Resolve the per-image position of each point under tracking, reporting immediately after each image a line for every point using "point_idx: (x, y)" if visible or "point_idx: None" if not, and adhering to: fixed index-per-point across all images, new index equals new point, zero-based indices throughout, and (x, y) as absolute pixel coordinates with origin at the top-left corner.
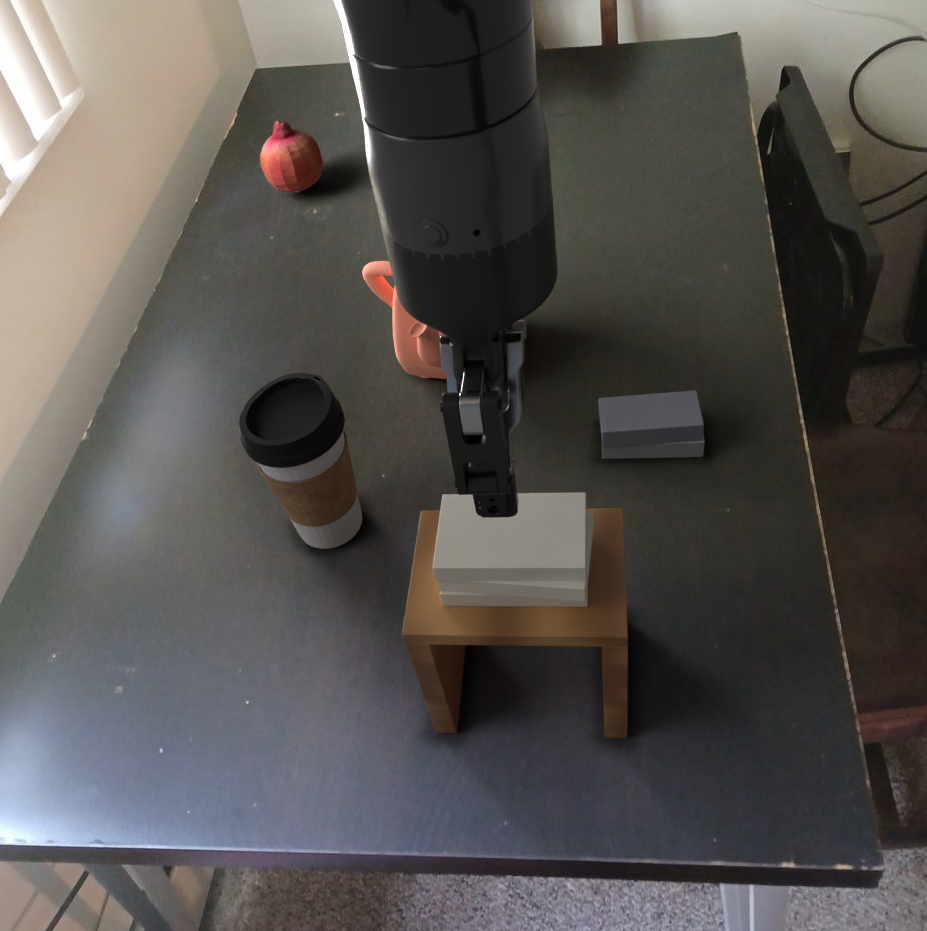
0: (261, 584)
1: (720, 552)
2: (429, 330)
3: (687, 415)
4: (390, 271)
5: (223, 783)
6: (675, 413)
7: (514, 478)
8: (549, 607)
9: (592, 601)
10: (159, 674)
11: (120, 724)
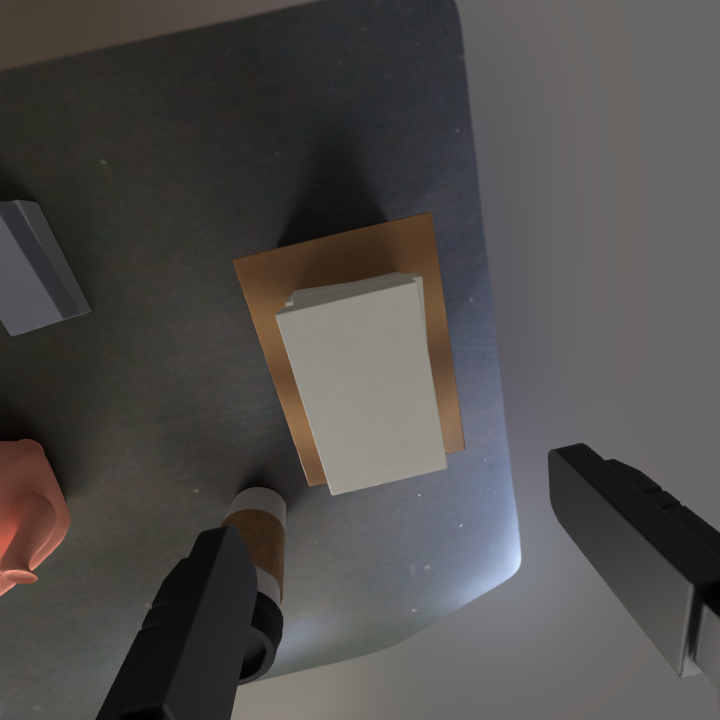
0: (328, 528)
1: (164, 163)
2: (14, 561)
3: None
4: None
5: (475, 483)
6: None
7: (643, 520)
8: None
9: (389, 266)
10: (412, 551)
11: (449, 554)
